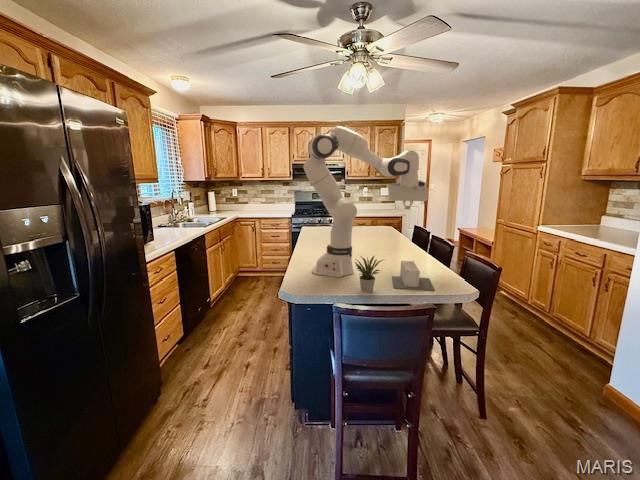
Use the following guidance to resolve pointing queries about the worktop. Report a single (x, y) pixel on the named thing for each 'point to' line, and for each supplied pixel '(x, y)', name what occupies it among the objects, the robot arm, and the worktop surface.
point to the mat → (423, 285)
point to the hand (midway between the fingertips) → (407, 209)
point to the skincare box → (409, 274)
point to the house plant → (367, 275)
